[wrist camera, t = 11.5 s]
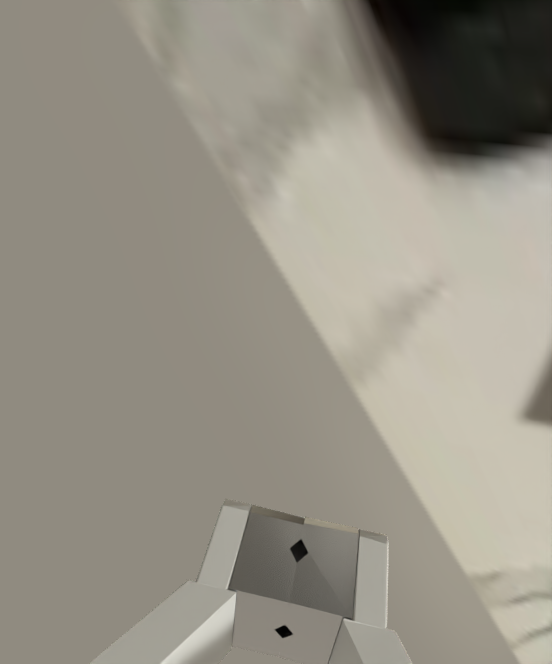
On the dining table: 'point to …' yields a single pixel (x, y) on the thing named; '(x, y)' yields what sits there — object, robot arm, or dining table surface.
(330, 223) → the dining table surface
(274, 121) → the dining table surface
